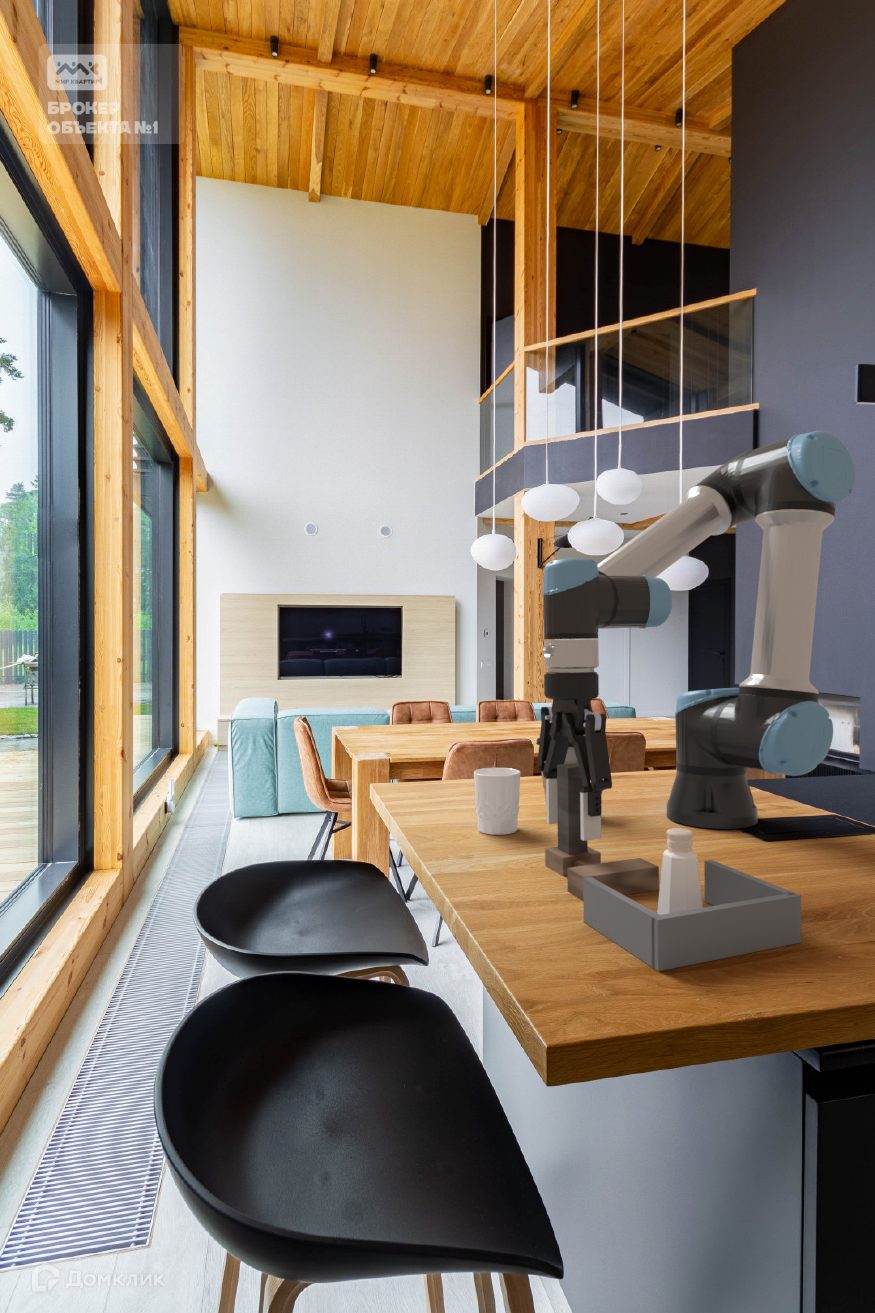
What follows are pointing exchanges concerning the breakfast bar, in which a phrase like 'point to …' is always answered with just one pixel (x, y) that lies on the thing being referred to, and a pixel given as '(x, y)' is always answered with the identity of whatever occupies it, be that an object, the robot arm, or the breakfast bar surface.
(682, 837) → the salt shaker
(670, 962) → the box
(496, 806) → the white cup
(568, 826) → the block post with base
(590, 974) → the breakfast bar surface
